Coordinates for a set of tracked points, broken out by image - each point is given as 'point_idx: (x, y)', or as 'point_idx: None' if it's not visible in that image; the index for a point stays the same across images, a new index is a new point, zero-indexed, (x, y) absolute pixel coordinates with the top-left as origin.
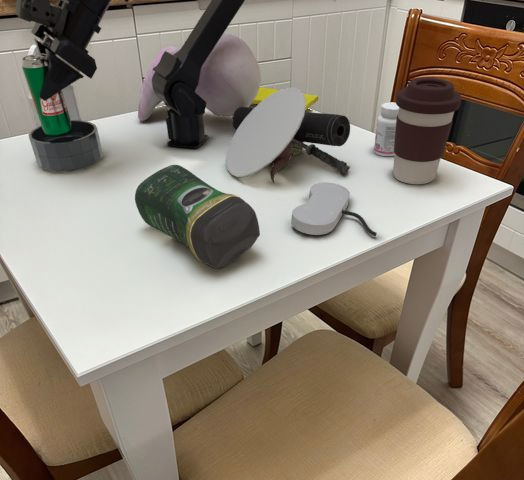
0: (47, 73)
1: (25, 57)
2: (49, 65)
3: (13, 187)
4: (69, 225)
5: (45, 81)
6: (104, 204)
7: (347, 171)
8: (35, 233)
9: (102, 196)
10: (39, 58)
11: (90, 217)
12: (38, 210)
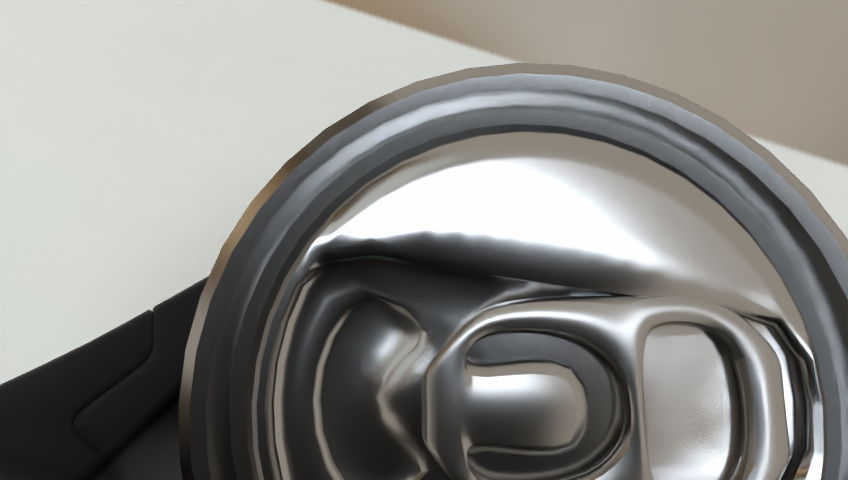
0: (119, 349)
1: (792, 224)
2: (40, 457)
3: (435, 66)
4: (6, 107)
5: (191, 286)
6: (51, 271)
7: None
8: (39, 3)
9: (114, 297)
10: (430, 454)
11: (3, 186)
12: (181, 69)
